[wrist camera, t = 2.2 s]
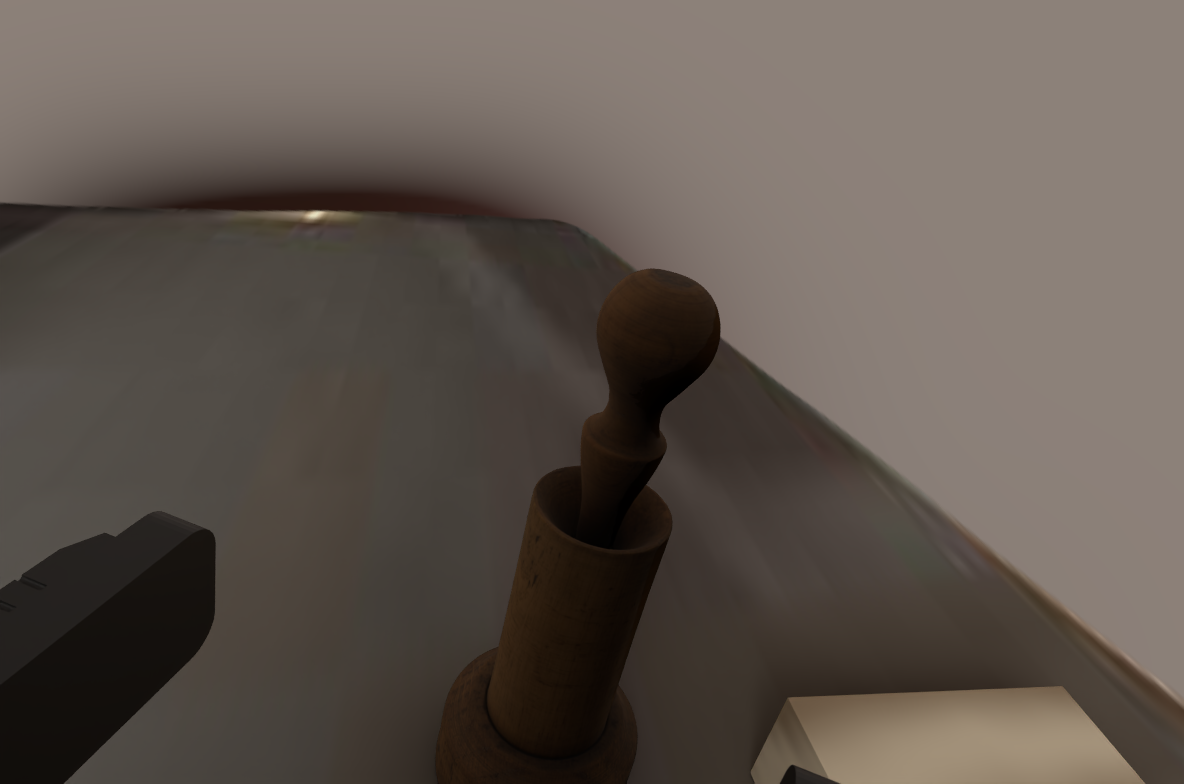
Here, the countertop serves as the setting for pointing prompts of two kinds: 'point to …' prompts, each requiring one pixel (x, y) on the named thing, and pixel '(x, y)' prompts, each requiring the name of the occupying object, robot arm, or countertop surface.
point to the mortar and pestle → (585, 565)
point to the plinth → (942, 739)
